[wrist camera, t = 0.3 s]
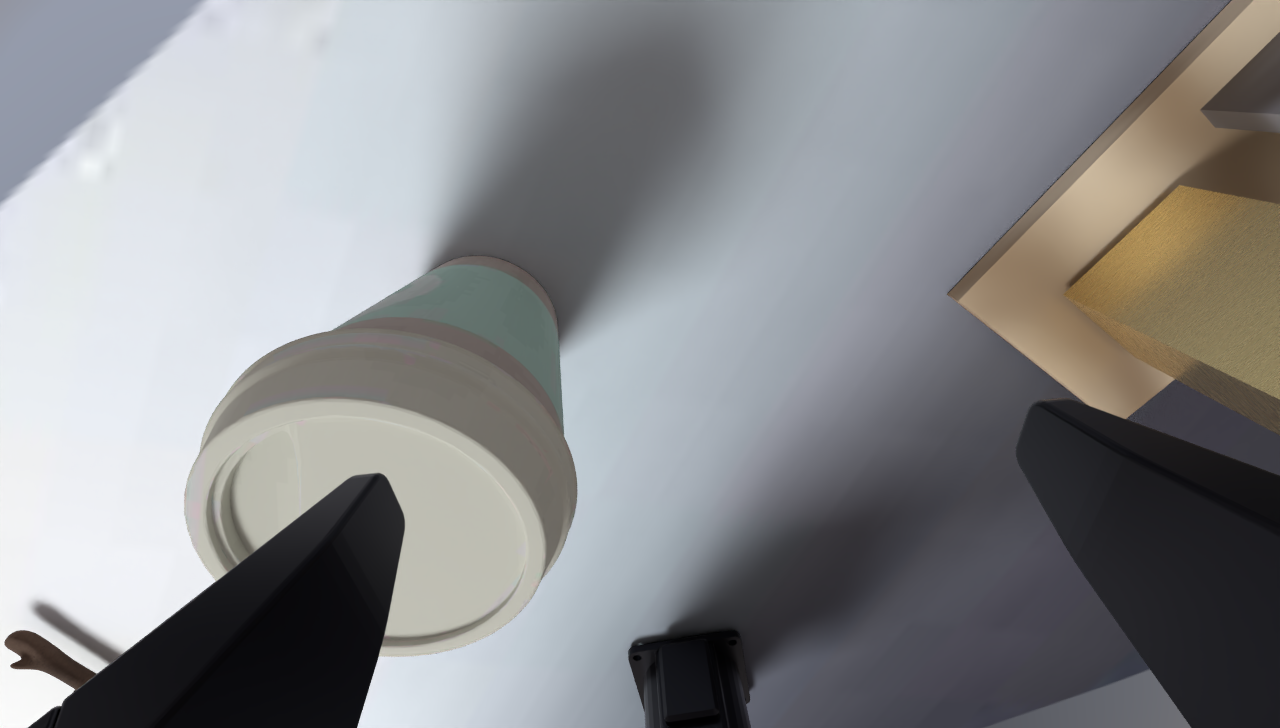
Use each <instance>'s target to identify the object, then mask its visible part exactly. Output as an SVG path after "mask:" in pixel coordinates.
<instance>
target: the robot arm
mask: <svg viewBox="0 0 1280 728" xmlns="http://www.w3.org/2000/svg"><path fill="white" fill-rule="evenodd" d="M1016 457H1017V461H1018V463H1019V466H1020V467H1021V469H1022V471H1023V473H1024V474H1025V476H1026V478H1027V480H1028V482H1029V483H1030V485H1031V487H1032V489H1033V490H1034V492H1035V494H1036V496H1037V497H1038V499H1039V501H1040V503H1041V504H1042V506H1043V508H1044V510H1045V511H1046V513H1047V515H1048V517H1049V518H1050V520H1051V522H1052V524H1053V526H1054V527H1055V529H1056V531H1057V533H1058V534H1059V536H1060V538H1061V540H1062V541H1063V543H1064V545H1065V546H1066V548H1067V550H1068V551H1069V553H1070V555H1071V556H1072V558H1073V560H1074V561H1075V563H1076V564H1077V566H1078V567H1079V569H1080V570H1081V572H1082V573H1083V575H1084V576H1085V578H1086V579H1087V581H1088V582H1089V583H1090V585H1091V586H1092V588H1093V589H1094V591H1095V592H1096V593H1097V595H1098V596H1099V598H1100V599H1101V600H1102V602H1103V603H1104V605H1105V606H1106V607H1107V609H1108V610H1109V612H1110V613H1111V615H1112V616H1113V617H1114V619H1115V620H1116V622H1117V623H1118V624H1119V626H1120V627H1121V629H1122V630H1123V632H1124V633H1125V634H1126V636H1127V637H1128V639H1129V640H1130V641H1131V643H1132V644H1133V646H1134V647H1135V649H1136V650H1137V651H1138V653H1139V654H1140V656H1141V657H1142V658H1143V660H1144V661H1145V663H1146V664H1147V666H1148V667H1149V668H1150V670H1151V671H1152V673H1153V674H1154V675H1155V677H1156V678H1157V680H1158V681H1159V682H1160V684H1161V685H1162V687H1163V688H1164V690H1165V691H1166V692H1167V694H1168V695H1169V697H1170V698H1171V699H1172V701H1173V702H1174V704H1175V705H1176V706H1177V708H1178V709H1179V711H1180V712H1181V714H1182V715H1183V716H1184V718H1185V719H1186V721H1187V722H1188V724H1189V725H1190V726H1191V728H1280V476H1279V475H1276V474H1274V473H1271V472H1268V471H1266V470H1263V469H1260V468H1257V467H1255V466H1252V465H1249V464H1246V463H1244V462H1241V461H1238V460H1236V459H1233V458H1230V457H1227V456H1225V455H1222V454H1219V453H1217V452H1214V451H1211V450H1208V449H1206V448H1203V447H1200V446H1197V445H1195V444H1192V443H1189V442H1187V441H1184V440H1181V439H1178V438H1176V437H1173V436H1170V435H1168V434H1165V433H1162V432H1159V431H1157V430H1154V429H1151V428H1148V427H1146V426H1143V425H1140V424H1138V423H1135V422H1132V421H1129V420H1127V419H1124V418H1121V417H1118V416H1116V415H1113V414H1110V413H1108V412H1105V411H1102V410H1099V409H1097V408H1094V407H1091V406H1089V405H1086V404H1083V403H1080V402H1078V401H1075V400H1072V399H1068V398H1058V399H1049V400H1040V401H1037V402H1035V403H1033V404H1032V405H1031V406H1030V407H1029V409H1028V412H1027V415H1026V418H1025V421H1024V424H1023V427H1022V430H1021V433H1020V436H1019V439H1018V442H1017V445H1016ZM404 533H405V518H404V514H403V511H402V509H401V506H400V504H399V502H398V500H397V498H396V495H395V493H394V491H393V489H392V487H391V484H390V482H389V480H388V479H387V477H386V476H385V475H384V474H381V473H370V474H361V475H355V476H352V477H350V478H348V479H347V480H345V481H344V482H343V483H342V484H340V485H339V486H338V487H337V488H335V489H334V490H333V491H331V492H330V493H329V494H328V495H326V496H325V497H324V498H322V499H321V500H320V501H319V502H317V503H316V504H315V505H313V506H312V507H311V508H310V509H308V510H307V511H306V512H304V513H303V514H302V515H301V516H299V517H298V518H297V519H295V520H294V521H293V522H292V523H290V524H289V525H288V526H286V527H285V528H284V529H283V530H281V531H280V532H279V533H277V534H276V535H275V536H274V537H272V538H271V539H270V540H268V541H267V542H266V543H265V544H263V545H262V546H261V547H259V548H258V549H257V550H256V551H254V552H253V553H252V554H251V555H249V556H248V557H247V558H245V559H244V560H243V561H242V562H240V563H239V564H238V565H236V566H235V567H234V568H233V569H231V570H230V571H229V572H227V573H226V574H225V575H224V576H222V577H221V578H220V579H218V580H217V581H216V582H215V583H213V584H212V585H211V586H209V587H208V588H207V589H206V590H204V591H203V592H202V593H200V594H199V595H198V596H197V597H195V598H194V599H193V600H191V601H190V602H189V603H188V604H186V605H185V606H184V607H182V608H181V609H180V610H179V611H177V612H176V613H175V614H173V615H172V616H171V617H170V618H168V619H167V620H166V621H164V622H163V623H162V624H161V625H159V626H158V627H157V628H155V629H154V630H153V631H152V632H150V633H149V634H148V635H146V636H145V637H144V638H143V639H141V640H140V641H139V642H137V643H136V644H135V645H134V646H132V647H131V648H130V649H128V650H127V651H126V652H125V653H123V654H122V655H121V656H119V657H118V658H117V659H116V660H114V661H113V662H112V663H111V664H109V665H108V666H107V667H105V668H104V669H103V670H102V671H100V672H99V673H98V674H96V675H95V676H94V677H93V678H91V679H90V680H89V681H87V682H86V683H85V684H84V685H82V686H81V687H80V688H78V689H77V690H76V691H75V692H73V693H72V694H71V695H69V696H68V697H67V698H66V699H65V700H64V701H63V703H62V706H56V707H54V708H52V709H51V710H50V711H49V712H47V713H46V714H45V715H43V716H42V717H41V718H40V719H38V720H37V721H36V722H35V723H33V724H32V725H31V726H29V727H28V728H357V726H358V723H359V719H360V716H361V713H362V709H363V706H364V703H365V700H366V696H367V693H368V690H369V686H370V683H371V680H372V676H373V673H374V670H375V667H376V663H377V660H378V657H379V653H380V650H381V646H382V643H383V639H384V635H385V631H386V626H387V622H388V617H389V612H390V607H391V601H392V596H393V591H394V585H395V580H396V575H397V570H398V564H399V559H400V554H401V548H402V543H403V538H404ZM628 658H629V663H630V666H631V669H632V672H633V676H634V679H635V682H636V685H637V689H638V692H639V695H640V698H641V702H642V705H643V708H644V712H645V726H646V728H751V725H750V721H749V716H748V711H747V707H746V704H747V703H749V701H750V694H749V688H748V681H747V675H746V668H745V662H744V655H743V649H742V642H741V638H740V634H739V633H738V632H737V631H725V632H719V633H713V634H707V635H701V636H695V637H688V638H682V639H676V640H670V641H664V642H657V643H651V644H645V645H639V646H634V647H631V648H630V649H629V651H628Z"/></svg>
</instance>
